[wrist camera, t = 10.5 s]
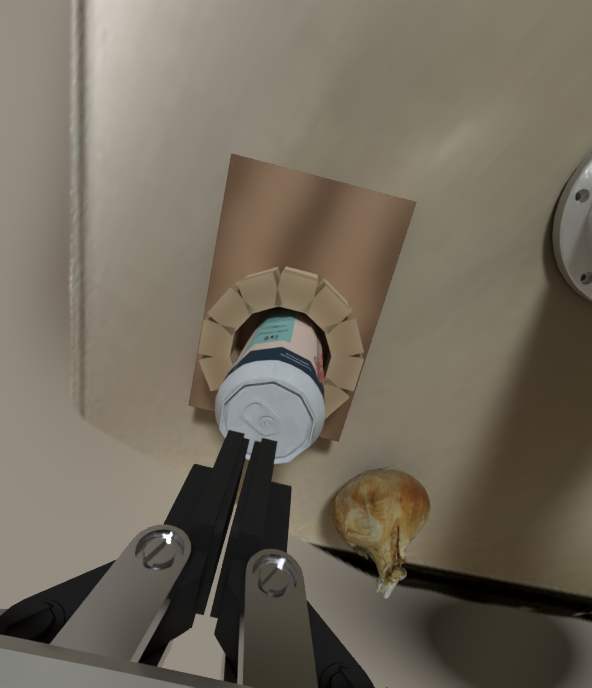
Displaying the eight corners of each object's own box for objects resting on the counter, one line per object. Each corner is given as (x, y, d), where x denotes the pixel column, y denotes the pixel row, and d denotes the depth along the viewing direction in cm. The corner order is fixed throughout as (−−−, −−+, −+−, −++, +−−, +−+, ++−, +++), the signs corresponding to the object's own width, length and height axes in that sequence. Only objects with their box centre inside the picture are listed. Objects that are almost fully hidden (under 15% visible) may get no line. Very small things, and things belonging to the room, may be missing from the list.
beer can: (287, 383, 27) (267, 493, 16) (241, 338, 26) (184, 421, 15) (335, 340, 26) (351, 427, 15) (288, 292, 25) (265, 344, 14)
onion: (438, 487, 32) (476, 567, 25) (368, 534, 34) (384, 621, 27) (383, 431, 31) (405, 497, 23) (313, 483, 33) (313, 561, 25)
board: (406, 204, 25) (433, 197, 20) (336, 425, 31) (341, 469, 25) (239, 160, 25) (216, 140, 19) (198, 391, 31) (171, 429, 25)
